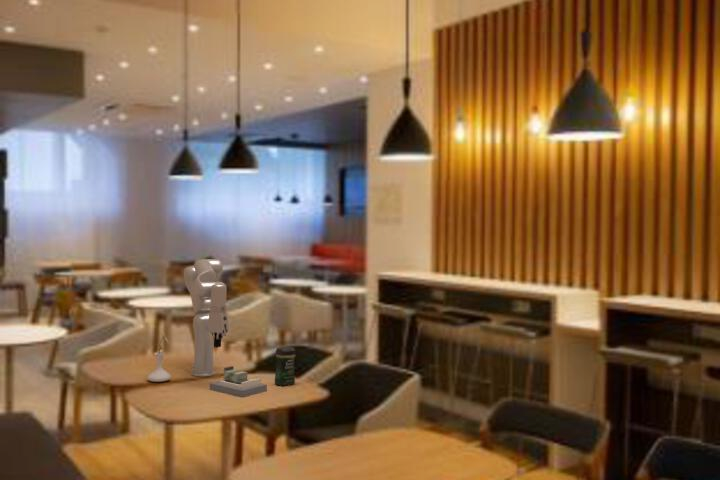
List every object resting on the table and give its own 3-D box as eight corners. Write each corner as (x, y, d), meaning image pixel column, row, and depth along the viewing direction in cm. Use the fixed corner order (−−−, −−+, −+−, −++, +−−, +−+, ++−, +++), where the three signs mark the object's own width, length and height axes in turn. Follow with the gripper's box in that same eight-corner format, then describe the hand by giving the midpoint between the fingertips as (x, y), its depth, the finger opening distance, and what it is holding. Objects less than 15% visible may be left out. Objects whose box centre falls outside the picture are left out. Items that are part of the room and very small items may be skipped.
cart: (223, 382, 348) (223, 367, 348) (232, 380, 353) (232, 366, 352) (238, 386, 342) (238, 370, 342) (247, 383, 347) (247, 369, 346)
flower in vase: (167, 383, 355) (168, 332, 355) (144, 383, 356) (144, 332, 355) (174, 377, 368) (175, 328, 368) (152, 377, 369) (152, 328, 368)
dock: (209, 389, 346) (209, 376, 346) (234, 383, 359) (234, 371, 359) (242, 397, 333) (242, 384, 333) (266, 390, 346) (267, 378, 346)
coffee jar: (280, 387, 354) (281, 349, 354) (272, 383, 361) (273, 346, 360) (297, 384, 361) (298, 347, 360) (288, 381, 367) (289, 344, 366)
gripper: (234, 310, 352) (233, 347, 353) (213, 307, 361) (212, 343, 362) (223, 311, 346) (222, 350, 347) (201, 308, 355) (201, 345, 356)
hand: (217, 346), depth 354 cm, fingers closed
